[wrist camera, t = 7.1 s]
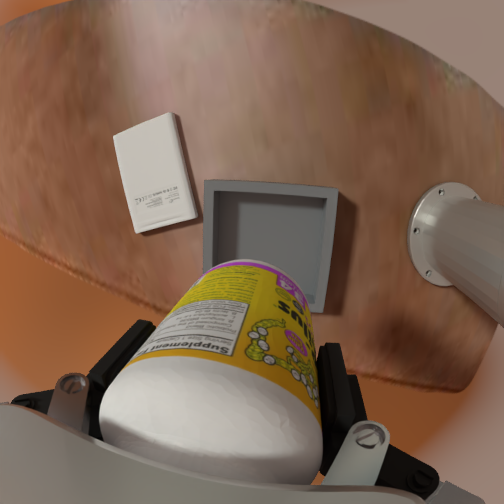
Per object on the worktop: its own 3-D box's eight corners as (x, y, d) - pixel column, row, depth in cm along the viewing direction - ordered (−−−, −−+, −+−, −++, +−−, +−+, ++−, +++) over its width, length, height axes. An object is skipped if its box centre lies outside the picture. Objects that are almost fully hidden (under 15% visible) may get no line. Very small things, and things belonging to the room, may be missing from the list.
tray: (333, 187, 29) (338, 188, 26) (320, 300, 32) (322, 312, 29) (212, 179, 30) (204, 180, 27) (210, 290, 34) (203, 301, 31)
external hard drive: (176, 114, 29) (200, 216, 32) (118, 137, 30) (140, 231, 33) (170, 111, 27) (195, 218, 30) (111, 136, 29) (134, 234, 32)
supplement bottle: (315, 355, 16) (323, 578, 3) (207, 364, 17) (126, 550, 4) (301, 244, 14) (329, 538, 2) (177, 263, 15) (-9, 438, 3)
